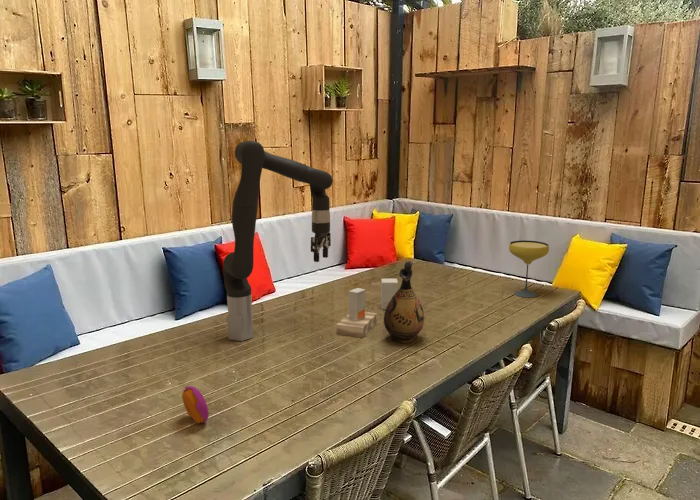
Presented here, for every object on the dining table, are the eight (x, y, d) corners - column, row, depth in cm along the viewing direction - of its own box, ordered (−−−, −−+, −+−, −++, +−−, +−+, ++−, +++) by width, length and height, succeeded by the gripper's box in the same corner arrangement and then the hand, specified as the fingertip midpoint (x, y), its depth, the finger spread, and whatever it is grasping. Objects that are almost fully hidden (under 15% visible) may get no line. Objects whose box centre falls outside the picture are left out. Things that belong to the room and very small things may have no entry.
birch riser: (362, 337, 209) (362, 327, 209) (336, 334, 213) (336, 324, 212) (377, 322, 226) (377, 313, 225) (352, 319, 230) (352, 310, 229)
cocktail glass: (498, 291, 268) (501, 242, 262) (526, 287, 275) (530, 239, 270) (524, 302, 252) (527, 249, 246) (553, 296, 259) (557, 245, 254)
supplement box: (397, 309, 242) (398, 282, 239) (381, 309, 242) (381, 282, 239) (396, 304, 249) (397, 278, 246) (380, 304, 249) (380, 278, 246)
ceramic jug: (422, 347, 199) (424, 269, 193) (380, 344, 202) (381, 267, 196) (425, 331, 215) (427, 258, 209) (387, 328, 218) (387, 256, 212)
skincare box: (356, 321, 215) (356, 292, 213) (348, 319, 218) (348, 290, 215) (365, 317, 220) (365, 289, 217) (357, 315, 222) (357, 287, 220)
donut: (214, 412, 154) (212, 379, 152) (207, 429, 145) (204, 395, 143) (186, 412, 154) (184, 380, 152) (177, 430, 145) (174, 396, 143)
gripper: (320, 217, 228) (320, 255, 231) (304, 222, 215) (305, 262, 218) (336, 219, 225) (336, 257, 228) (321, 223, 212) (321, 264, 215)
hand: (320, 259), depth 223 cm, fingers open, 8 cm apart
